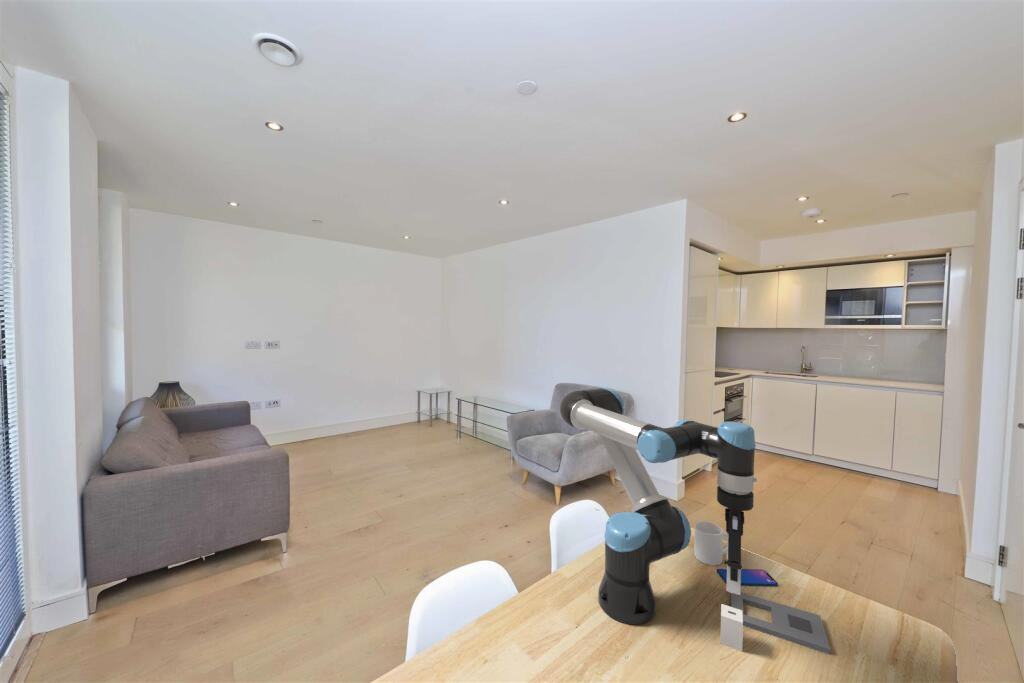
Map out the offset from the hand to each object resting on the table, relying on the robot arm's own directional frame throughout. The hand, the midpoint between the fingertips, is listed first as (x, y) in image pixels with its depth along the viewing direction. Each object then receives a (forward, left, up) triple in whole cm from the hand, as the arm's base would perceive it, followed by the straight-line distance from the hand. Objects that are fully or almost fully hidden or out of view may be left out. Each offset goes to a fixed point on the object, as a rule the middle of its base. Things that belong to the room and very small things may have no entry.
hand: (733, 575), depth 92 cm
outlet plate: (+10, +13, -16) cm, 23 cm away
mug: (-5, +35, -17) cm, 39 cm away
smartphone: (+4, +29, -17) cm, 34 cm away
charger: (0, 0, -16) cm, 16 cm away
